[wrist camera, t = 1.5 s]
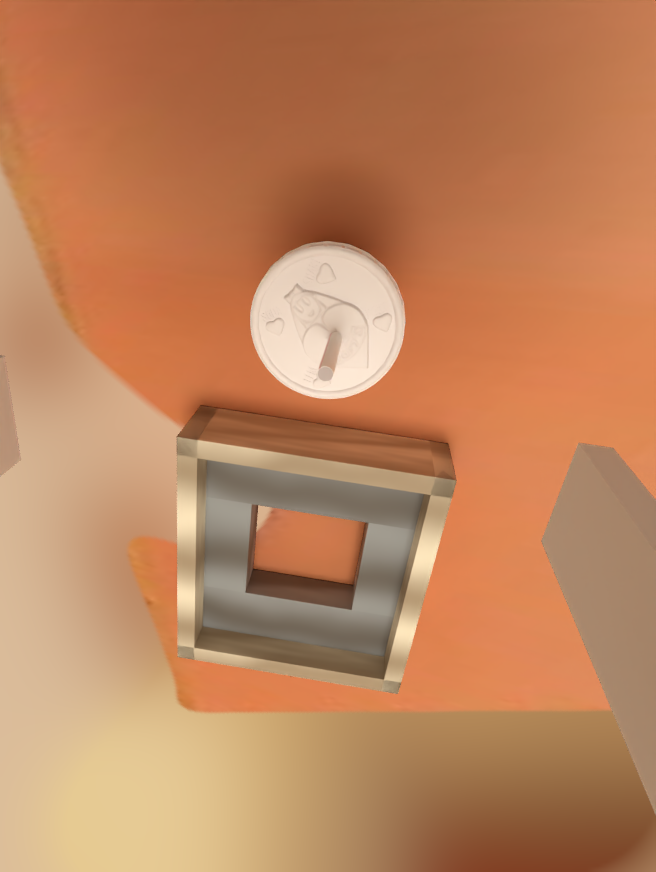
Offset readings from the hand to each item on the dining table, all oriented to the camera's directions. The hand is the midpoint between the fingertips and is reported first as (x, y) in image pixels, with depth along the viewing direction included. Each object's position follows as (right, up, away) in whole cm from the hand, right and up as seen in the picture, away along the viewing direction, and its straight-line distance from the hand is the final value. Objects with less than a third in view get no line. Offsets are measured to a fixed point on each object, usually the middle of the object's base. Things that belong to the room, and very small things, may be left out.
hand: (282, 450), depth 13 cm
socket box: (0, -7, +26) cm, 27 cm away
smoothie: (+2, +9, +18) cm, 20 cm away
